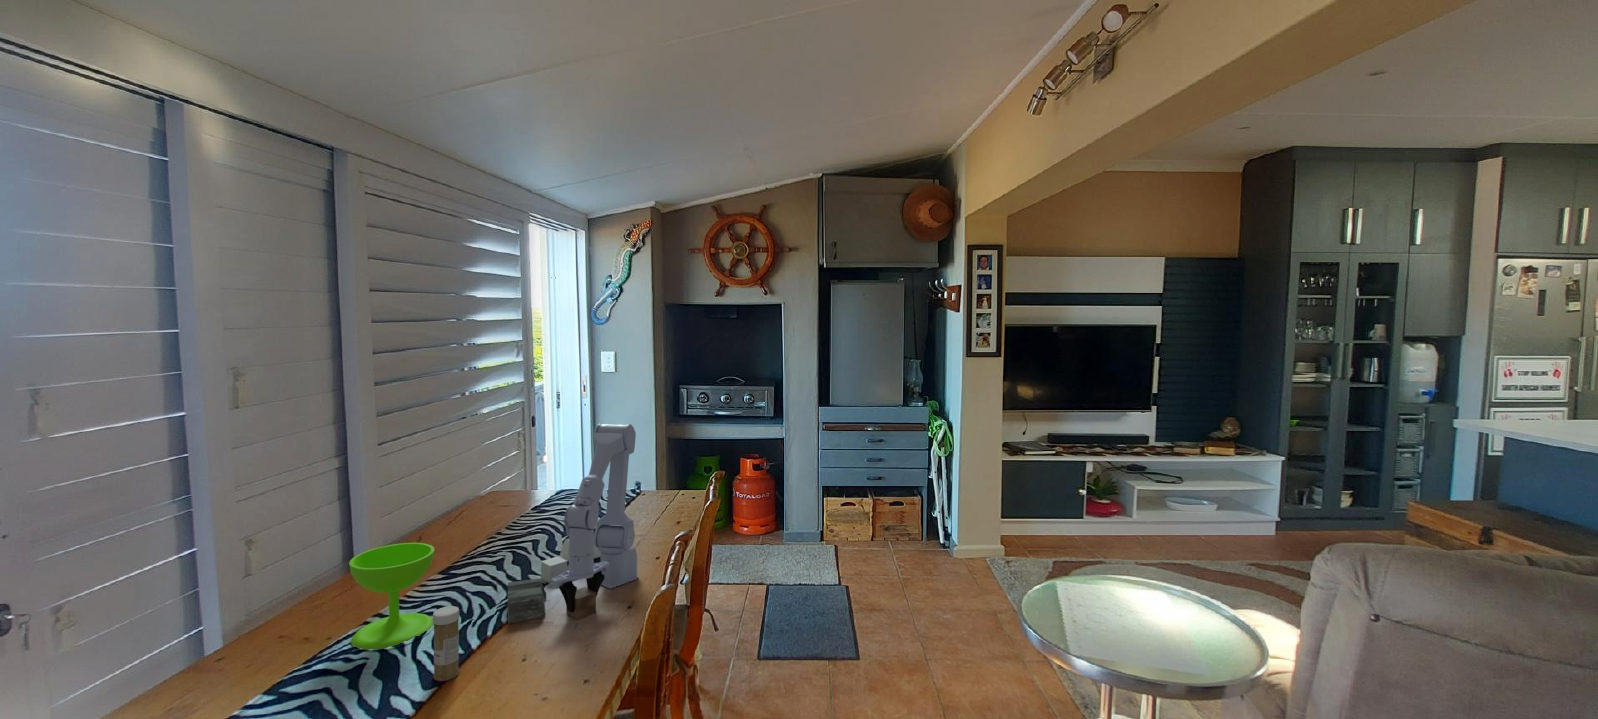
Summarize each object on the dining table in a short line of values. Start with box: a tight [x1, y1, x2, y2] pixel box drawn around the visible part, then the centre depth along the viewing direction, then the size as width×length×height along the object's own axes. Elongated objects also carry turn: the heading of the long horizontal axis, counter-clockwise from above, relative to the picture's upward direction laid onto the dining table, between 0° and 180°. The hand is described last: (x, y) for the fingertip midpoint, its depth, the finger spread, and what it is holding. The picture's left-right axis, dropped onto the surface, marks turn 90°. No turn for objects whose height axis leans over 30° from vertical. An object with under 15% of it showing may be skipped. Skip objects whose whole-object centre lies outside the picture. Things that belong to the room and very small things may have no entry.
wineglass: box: [348, 542, 435, 650], centre depth 135 cm, size 16×16×18 cm
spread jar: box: [559, 518, 601, 563], centre depth 180 cm, size 12×11×12 cm
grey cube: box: [540, 556, 568, 585], centre depth 167 cm, size 5×5×5 cm
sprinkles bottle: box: [432, 605, 460, 682], centre depth 119 cm, size 5×5×13 cm
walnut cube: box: [565, 586, 597, 621], centre depth 147 cm, size 5×5×5 cm
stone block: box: [507, 577, 547, 625], centre depth 149 cm, size 9×14×5 cm, turn 25°
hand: (581, 607), depth 147 cm, fingers closed on walnut cube, 5 cm apart
